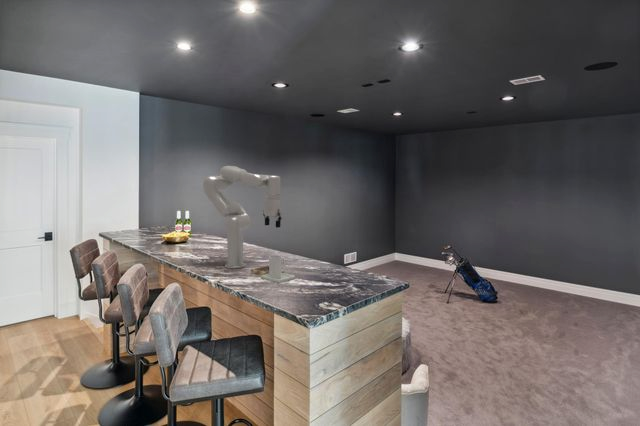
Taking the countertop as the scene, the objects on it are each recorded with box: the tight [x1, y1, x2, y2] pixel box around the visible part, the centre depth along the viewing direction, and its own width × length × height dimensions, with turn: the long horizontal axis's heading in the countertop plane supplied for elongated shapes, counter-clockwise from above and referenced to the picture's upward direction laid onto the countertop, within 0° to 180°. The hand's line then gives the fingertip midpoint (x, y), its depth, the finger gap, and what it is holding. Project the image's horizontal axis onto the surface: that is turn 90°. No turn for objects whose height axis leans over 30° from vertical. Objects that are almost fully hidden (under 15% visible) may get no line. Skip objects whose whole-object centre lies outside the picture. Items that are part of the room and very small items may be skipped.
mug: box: [268, 254, 287, 279], centre depth 203 cm, size 10×7×12 cm, turn 128°
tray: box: [260, 272, 296, 284], centre depth 204 cm, size 14×12×2 cm
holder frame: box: [250, 265, 283, 277], centre depth 217 cm, size 12×14×2 cm
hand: (272, 226), depth 217 cm, fingers open, 9 cm apart
